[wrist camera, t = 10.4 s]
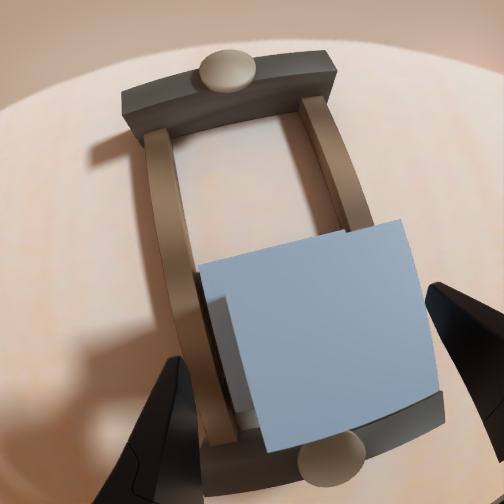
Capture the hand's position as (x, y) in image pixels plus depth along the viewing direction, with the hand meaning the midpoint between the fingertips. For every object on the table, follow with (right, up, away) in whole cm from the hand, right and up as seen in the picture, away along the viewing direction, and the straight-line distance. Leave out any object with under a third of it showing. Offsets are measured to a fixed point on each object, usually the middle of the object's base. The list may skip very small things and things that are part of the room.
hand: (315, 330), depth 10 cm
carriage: (0, -1, +7) cm, 7 cm away
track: (-1, +2, +8) cm, 8 cm away
